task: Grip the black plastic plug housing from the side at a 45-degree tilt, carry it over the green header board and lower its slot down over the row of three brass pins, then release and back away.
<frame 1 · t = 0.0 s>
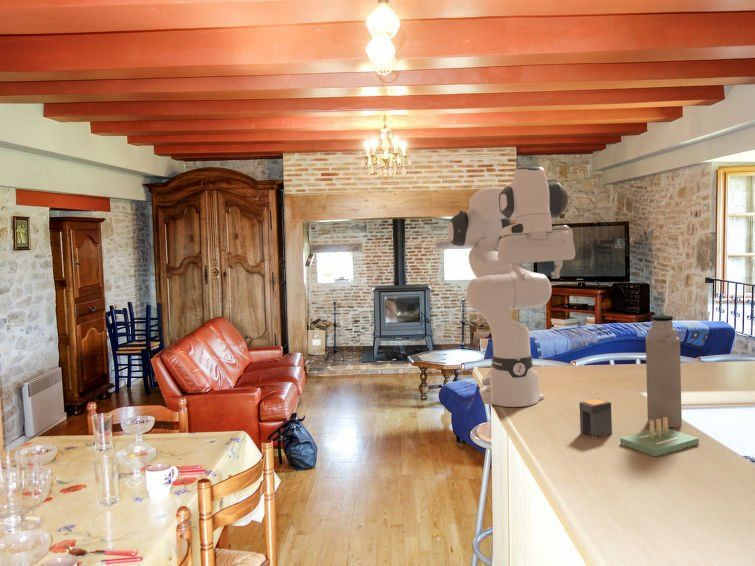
hand: (538, 279, 158), 39 cm above the counter, tool pointing down, fingers open, 8 cm apart
plug housing: (596, 433, 152), on the counter
thermos bottle: (664, 423, 156), on the counter
header board: (659, 444, 142), on the counter
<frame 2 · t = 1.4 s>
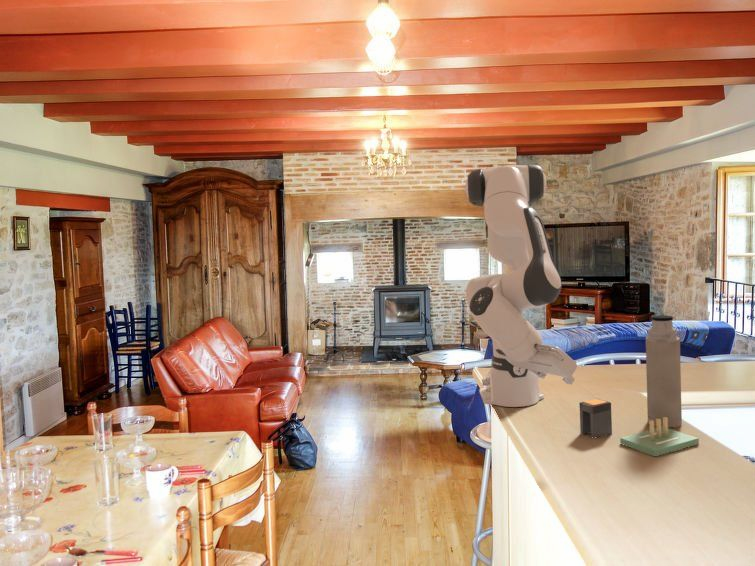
hand: (556, 378, 145), 16 cm above the counter, tool tilted 45°, fingers open, 8 cm apart
nothing on the counter moved.
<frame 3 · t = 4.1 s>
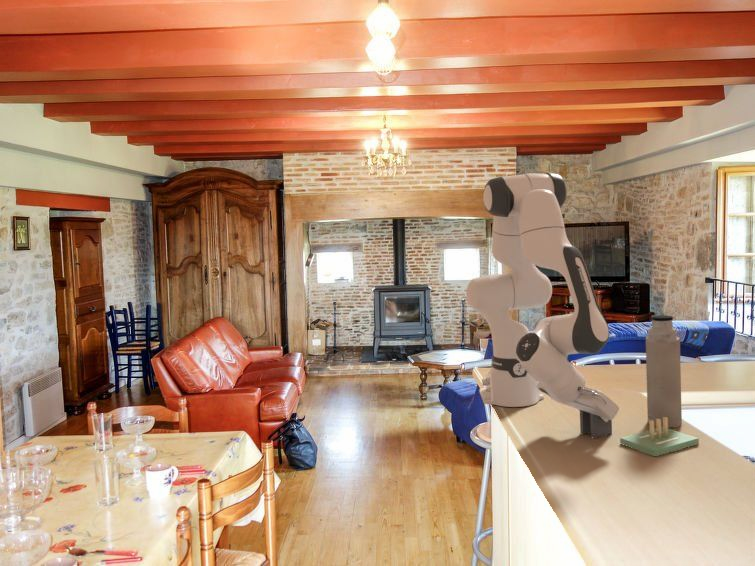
hand: (597, 416, 151), 4 cm above the counter, tool tilted 45°, fingers closed on plug housing, 4 cm apart
plug housing: (596, 433, 152), on the counter, touching gripper
everything else where it was.
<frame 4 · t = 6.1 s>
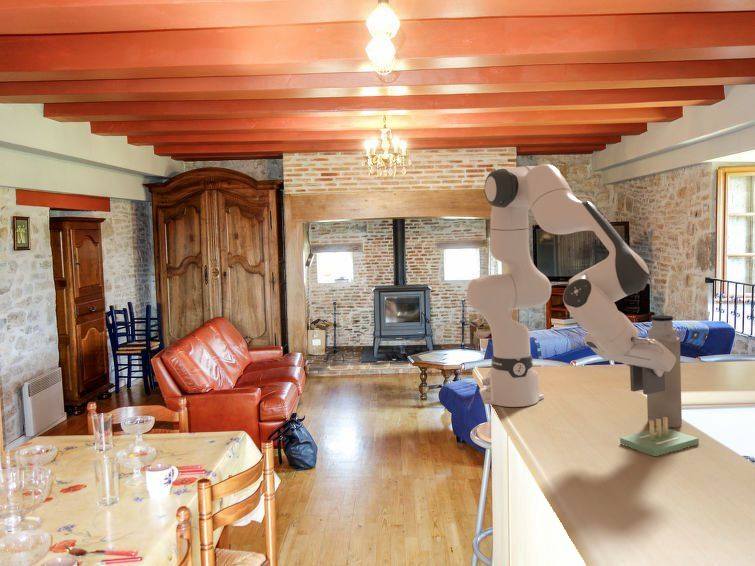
hand: (649, 371, 142), 17 cm above the counter, tool tilted 45°, fingers closed on plug housing, 4 cm apart
plug housing: (647, 390, 142), point 13 cm above the counter, touching gripper
everything else where it was.
when the fingers open (7 cm above the counter, at t = 8.4 s): plug housing stays where it is, resting on header board.
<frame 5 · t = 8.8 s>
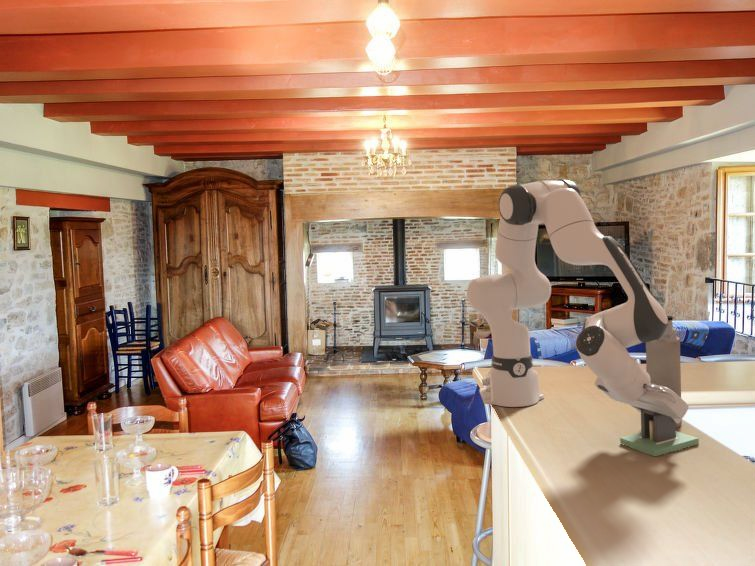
hand: (660, 415, 142), 7 cm above the counter, tool tilted 45°, fingers open, 8 cm apart
plug housing: (658, 437, 142), point 2 cm above the counter, touching header board
everything else where it was.
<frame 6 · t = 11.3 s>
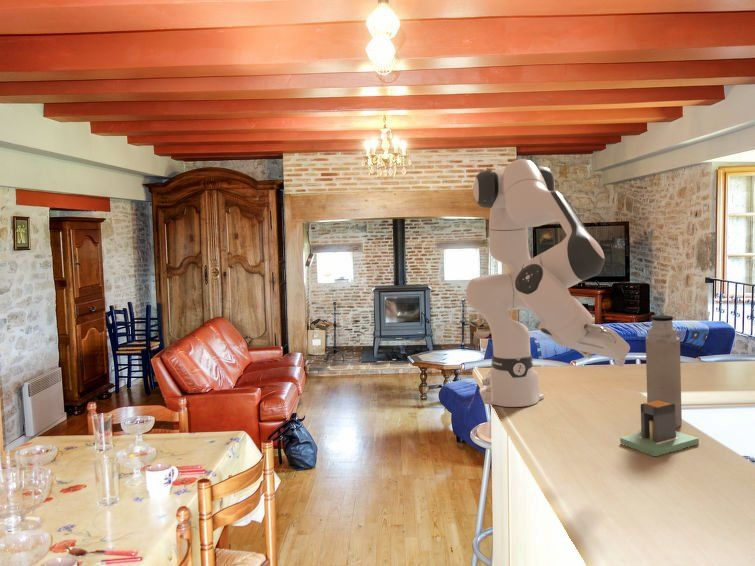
hand: (605, 359, 137), 22 cm above the counter, tool tilted 45°, fingers open, 8 cm apart
nothing on the counter moved.
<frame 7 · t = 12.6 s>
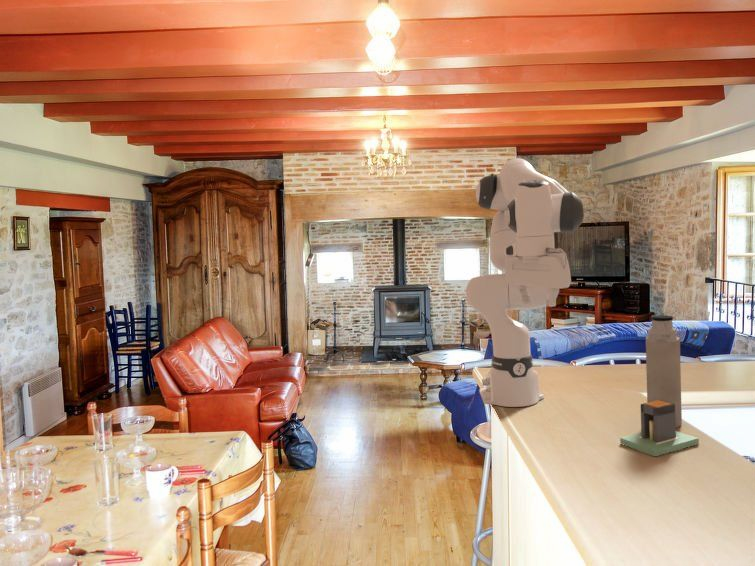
hand: (538, 304, 147), 34 cm above the counter, tool pointing down, fingers open, 8 cm apart
nothing on the counter moved.
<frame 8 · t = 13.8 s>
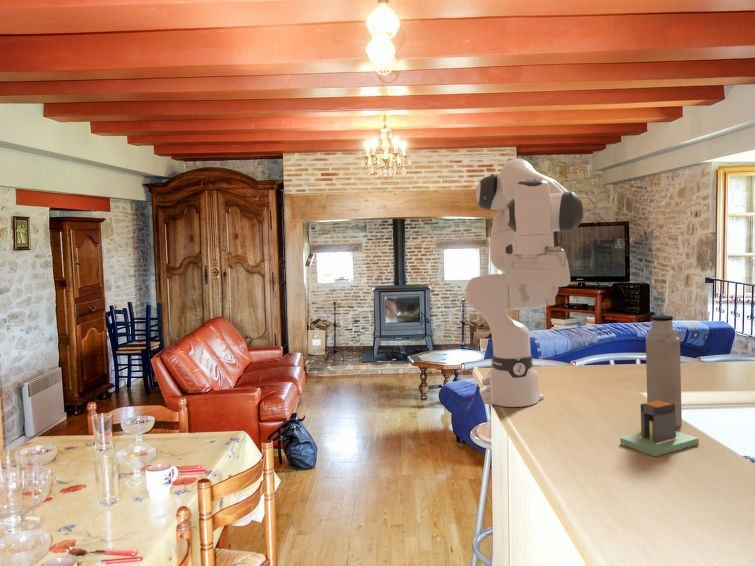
hand: (537, 303, 147), 34 cm above the counter, tool pointing down, fingers open, 8 cm apart
nothing on the counter moved.
at the end: plug housing 0.1 cm from the header board (horizontally); plug housing point 1.6 cm above the counter; plug housing tilted 0° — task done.
